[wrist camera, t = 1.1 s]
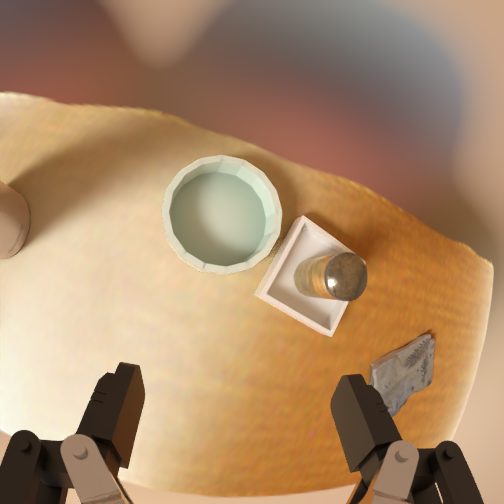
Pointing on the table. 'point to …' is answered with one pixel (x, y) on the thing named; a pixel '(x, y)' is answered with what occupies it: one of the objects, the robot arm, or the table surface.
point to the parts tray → (282, 277)
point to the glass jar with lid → (332, 277)
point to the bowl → (221, 215)
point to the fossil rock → (403, 372)
